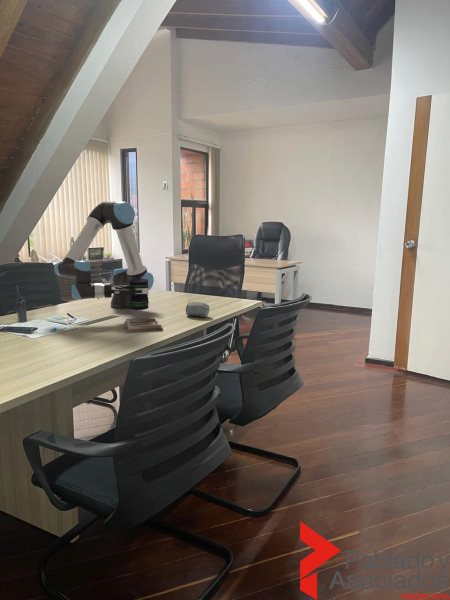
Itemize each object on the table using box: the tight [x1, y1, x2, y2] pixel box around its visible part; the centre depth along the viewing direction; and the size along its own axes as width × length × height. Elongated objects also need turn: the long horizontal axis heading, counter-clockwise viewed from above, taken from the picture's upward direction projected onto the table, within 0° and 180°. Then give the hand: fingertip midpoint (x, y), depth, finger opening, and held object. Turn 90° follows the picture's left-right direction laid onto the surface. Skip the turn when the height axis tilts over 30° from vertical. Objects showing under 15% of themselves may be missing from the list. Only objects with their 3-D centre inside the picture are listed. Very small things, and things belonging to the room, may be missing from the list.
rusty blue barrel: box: [129, 279, 150, 311], centre depth 226 cm, size 10×10×15 cm
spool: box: [185, 301, 211, 318], centre depth 238 cm, size 14×10×10 cm
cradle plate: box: [124, 317, 164, 333], centre depth 212 cm, size 17×17×3 cm
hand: (147, 289), depth 227 cm, fingers closed on rusty blue barrel, 10 cm apart
